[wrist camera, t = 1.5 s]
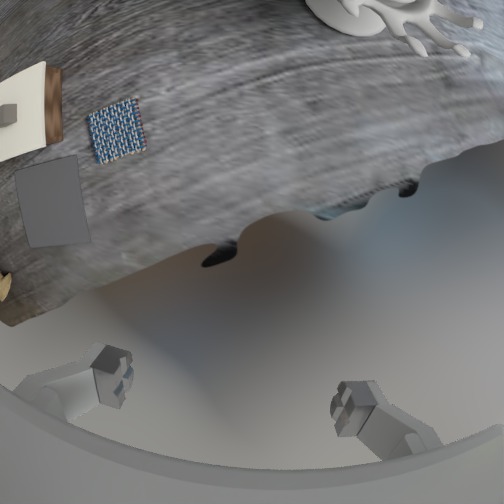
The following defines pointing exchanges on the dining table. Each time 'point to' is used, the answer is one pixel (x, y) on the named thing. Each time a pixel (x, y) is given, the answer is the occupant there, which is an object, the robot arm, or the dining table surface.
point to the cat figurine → (4, 285)
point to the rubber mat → (52, 203)
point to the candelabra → (392, 19)
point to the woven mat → (109, 134)
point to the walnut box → (53, 105)
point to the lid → (22, 112)
